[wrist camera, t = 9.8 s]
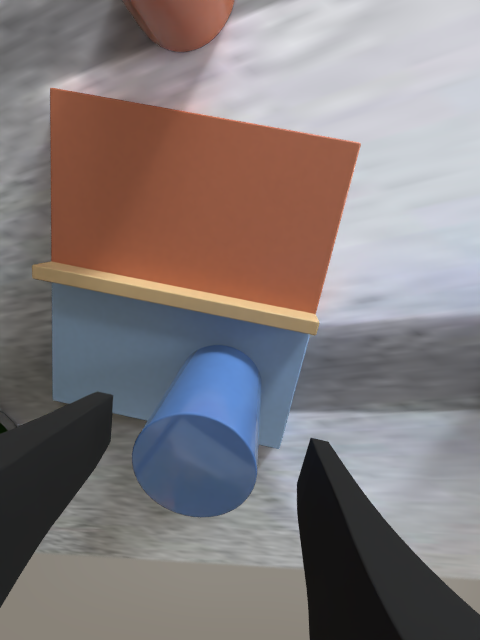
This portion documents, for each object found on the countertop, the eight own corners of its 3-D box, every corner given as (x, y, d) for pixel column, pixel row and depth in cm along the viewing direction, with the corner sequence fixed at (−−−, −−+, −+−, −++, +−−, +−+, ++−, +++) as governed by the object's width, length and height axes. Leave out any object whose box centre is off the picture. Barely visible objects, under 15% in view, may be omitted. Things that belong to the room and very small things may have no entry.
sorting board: (357, 146, 12) (371, 133, 10) (279, 442, 16) (280, 467, 15) (59, 92, 13) (26, 72, 11) (59, 394, 17) (35, 414, 15)
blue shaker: (269, 354, 14) (269, 429, 9) (253, 426, 16) (244, 529, 10) (184, 336, 14) (136, 400, 9) (174, 409, 16) (126, 503, 10)
